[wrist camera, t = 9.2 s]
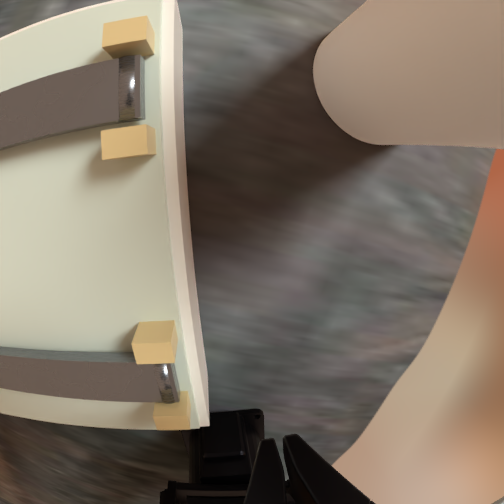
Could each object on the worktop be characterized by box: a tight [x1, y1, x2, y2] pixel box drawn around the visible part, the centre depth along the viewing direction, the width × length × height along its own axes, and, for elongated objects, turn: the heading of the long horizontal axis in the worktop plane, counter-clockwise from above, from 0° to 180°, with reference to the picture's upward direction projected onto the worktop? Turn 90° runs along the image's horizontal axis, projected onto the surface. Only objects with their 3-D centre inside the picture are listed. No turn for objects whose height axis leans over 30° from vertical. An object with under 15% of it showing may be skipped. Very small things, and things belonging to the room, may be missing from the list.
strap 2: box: [0, 346, 180, 404], centre depth 13 cm, size 14×2×1 cm, turn 92°
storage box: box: [0, 0, 210, 430], centre depth 13 cm, size 22×15×8 cm
